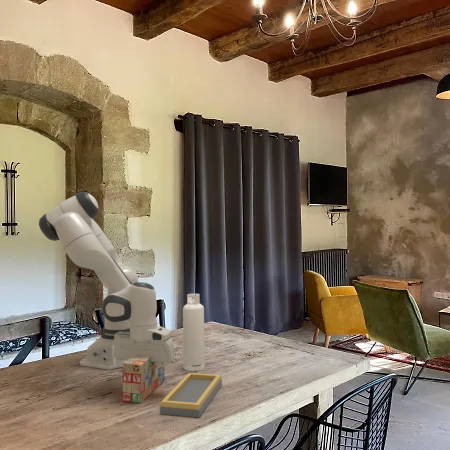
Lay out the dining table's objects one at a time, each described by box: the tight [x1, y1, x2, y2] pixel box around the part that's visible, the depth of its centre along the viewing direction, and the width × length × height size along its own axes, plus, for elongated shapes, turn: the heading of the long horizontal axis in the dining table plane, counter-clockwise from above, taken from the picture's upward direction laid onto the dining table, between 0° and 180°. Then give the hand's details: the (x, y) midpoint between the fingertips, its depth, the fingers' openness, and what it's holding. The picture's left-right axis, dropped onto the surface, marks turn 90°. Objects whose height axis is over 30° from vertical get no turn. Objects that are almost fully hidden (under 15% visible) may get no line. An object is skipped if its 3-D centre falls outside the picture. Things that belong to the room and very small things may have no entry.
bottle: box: [182, 293, 205, 372], centre depth 179 cm, size 8×8×28 cm
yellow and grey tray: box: [159, 372, 223, 418], centre depth 148 cm, size 12×27×4 cm, turn 167°
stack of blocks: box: [121, 355, 166, 404], centre depth 155 cm, size 21×6×12 cm, turn 167°
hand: (144, 373), depth 154 cm, fingers open, 6 cm apart
